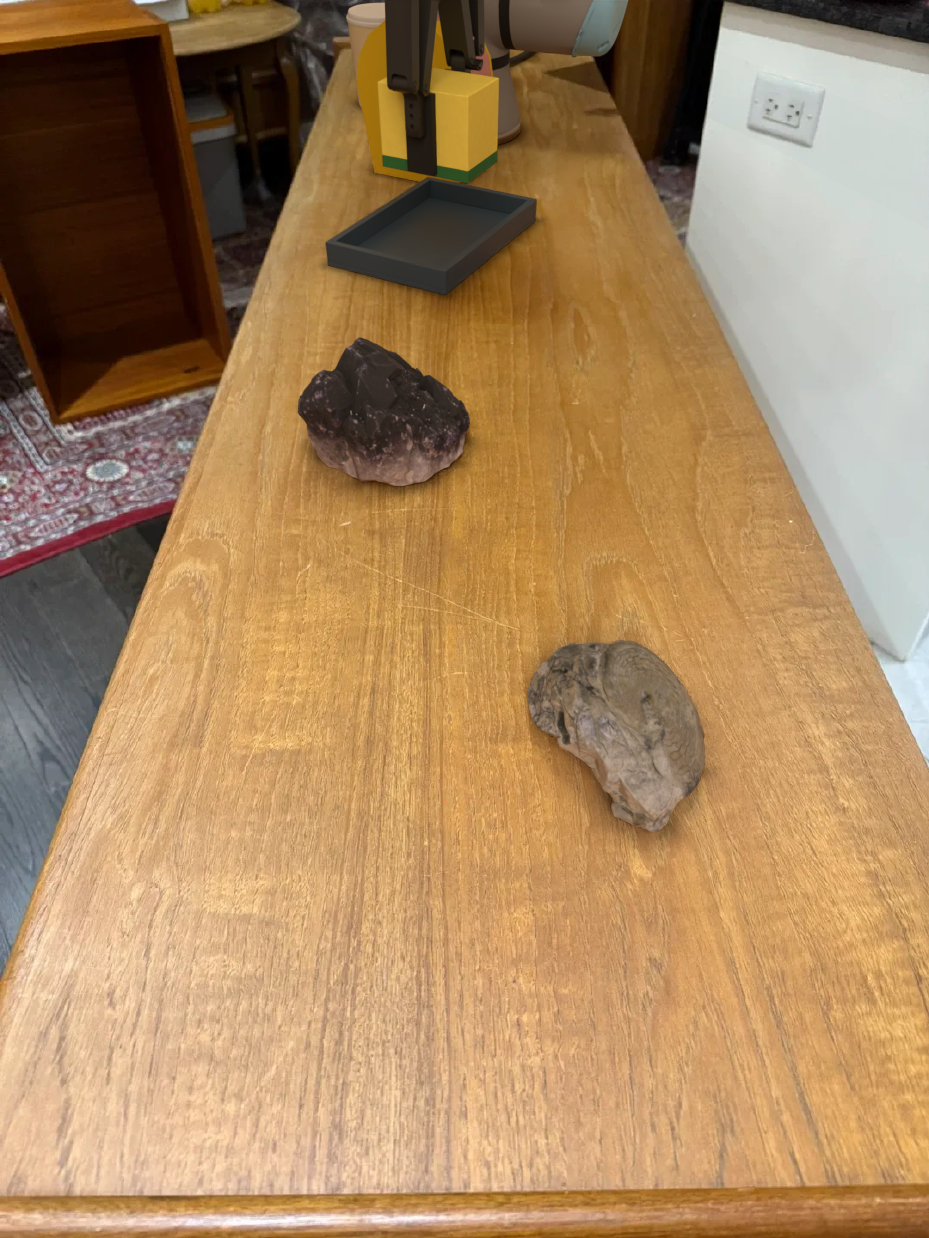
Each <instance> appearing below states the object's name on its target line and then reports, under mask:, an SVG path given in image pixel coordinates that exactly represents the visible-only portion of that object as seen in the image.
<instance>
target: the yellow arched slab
mask: <svg viewBox="0 0 929 1238" xmlns="http://www.w3.org/2000/svg"><path fill="white" fill-rule="evenodd" d="M473 40H474V37H473ZM476 59H483V67H482V69H481V71H476V70H471V73H472V74H477V75H483V76H490V77H493V71H492V63H491V56H490V53H489V51H488V49H487V47H486V45H485V50H484V54H483V56H482V57H479V56H477V57H476ZM432 68H438V69H451V67H449V66H447V63H446V57H445V50H444V44H443V38H442V31H441V25H440V18H439V12H438V14H437V23H436V33H435V43H434V53H433V63H432ZM386 77H387V66H386V30H385V21H384V22H383V23H381V24H380V25H379V26H378V27H376V28H375V29H374V30H373V31H372V32H370V33H369V34H368V36H367V39H366V41H365V43H364V45H363V48H362V50H361V52H360V54H359V57H358V70H357V87H358V92H359V97H360V102H361V106H360V108H361V112H362V116H363V121H364V122H363V123H364V127H365V132H366V136H367V137H366V138H367V142H368V147H369V152H370V156H371V162H372V166H373V172H374V174H379V175H384V176H388V177H389V176H390V177H394V178H399V179H404V180H408V181H413V182H418V183H419V182H420V181H422V180H423V179H425V178H426V177H431V178H436V179H441V180H446V181H451V182H456V183H461V182H458V181H453V180H448V179H443V178H438V177H433V176H428V175H423V174H418V173H413V172H408V171H403V170H398V169H393V168H388V167H383V162H382V144H381V129H380V114H379V98H378V82H379V81H380V80H382V79H384V78H386Z"/></svg>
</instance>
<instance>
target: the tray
mask: <svg viewBox="0 0 929 1238" xmlns="http://www.w3.org/2000/svg"><path fill="white" fill-rule="evenodd" d="M537 202H538V199H537V198H533V197H528V196H523V195H519V194H515V193H509V192H506V191H505V192H504V191H500V190H495V189H490V188H484V187H480V186H475V185H470V184H467V183H462V182H460V183H456V182H451V181H446V180H441V179H436V178H431V177H426V178H425V179H423V180H422V181H420V182H419V181H418V182H417V183H415V184H414V185H413V186H411V187H409V188H407V189H406V190H405V191H403V192H401V193H400V194H398V195H397V196H395V197H394V198H392V199H390V200H389V201H388V202H386V203H384V204H382V205H381V206H379V207H378V208H377V209H375V210H374V211H372V212H370V213H368V214H366V216H364V217H362V218H361V219H358V221H356V222H354V223H353V224H352V225H350V226H348V227H347V228H345V229H343V230H342V231H340V232H339V233H337V234H336V235H334V236H332V237H331V238H330V239H328V240H326V241H325V251H326V261H327V266H329V267H333V268H337V269H341V270H345V271H348V272H353V273H357V274H361V275H365V276H368V277H372V278H376V279H381V280H384V281H389V282H391V283H396V284H401V285H404V286H408V287H411V288H416V289H420V290H423V291H428V292H431V293H435V294H439V295H443V296H444V295H445V296H446V295H448V294H449V293H450V292H451V291H453V290H454V289H455V288H456V287H457V286H458V285H460V284H461V283H462V282H464V281H465V280H466V279H467V278H469V276H471V275H472V274H473V273H475V272H476V271H477V270H478V269H479V268H480V267H482V266H483V265H484V264H485V263H486V262H488V261H489V260H490V259H491V258H493V257H494V256H496V254H497V253H499V252H500V251H501V250H503V249H504V248H505V247H506V246H507V245H508V244H510V243H511V242H512V241H514V240H515V239H516V238H517V237H518V236H519V235H520V234H522V233H523V232H525V230H527V229H528V228H530V226H532V224H534V223H536V220H537V205H538V203H537Z"/></svg>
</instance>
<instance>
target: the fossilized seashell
mask: <svg viewBox="0 0 929 1238" xmlns="http://www.w3.org/2000/svg"><path fill="white" fill-rule="evenodd" d="M526 694H527V704H528V709H529V715H530V718H531V721H532V723H534V725H535V726H536V727H537V728H538V729H539V730H540V731H542V732H543V733H545V734H547V735H549V736H551V737H553V738H556V744H557V745H558V747H559V748H560V749H562V750H564V751H566V752H568V753H571V754H572V755H573V756H575V757H576V758H578V759H579V760H581V761H582V762H584V763H585V764H586V766H587V767H589V768H590V769H591V773H592V774H593V775H594V777H595V780H596V781H597V782H598V783H599V784H600V786H601V790H603V792H604V793H606V794H609V795H610V797H611V799H612V802H611V805H610V807H611V808H610V809H611V813H612V815H613V817H615V818H617V819H621V820H622V821H623V822H625V823H628V824H630V825H631V826H633V827H634V828H641V829H643V830H645V831H648V832H650V833H656V832H660V831H662V829H663V828H664V827H665V826H666V825H667V824H668V823H669V821H670V819H671V816H672V814H673V812H674V810H675V809H676V807H677V805H678V803H679V802H680V801H682V800H683V799H685V798H687V797H689V796H690V795H691V794H693V792H694V790H695V789H696V788H697V787H698V785H699V783H700V781H701V777H702V775H703V771H704V767H705V763H706V762H705V761H706V746H705V743H704V742H705V733H704V729H703V726H702V724H701V719H700V714H699V712H698V709H697V706H696V705H695V704H694V702H693V700H692V697H691V696H690V694H689V692H688V691H687V689H686V688H685V686H684V684H683V683H682V682H681V680H680V679H679V677H678V676H677V674H676V673H675V672H674V671H673V670H672V669H671V668H670V667H669V665H668V664H667V663H666V662H665V661H664V660H662V658H660V657H659V656H658V655H657V654H655V653H654V652H653V650H651V649H649V648H648V647H647V646H644V645H643V644H641V643H638V642H636V641H632V640H624V639H618V640H615V641H612V642H609V643H605V642H596V641H593V642H591V641H590V642H584V643H575V642H570V643H568V644H566V645H563V646H559V647H557V648H556V649H555V650H554V651H553V652H552V653H551V655H550V656H549V657H548V659H547V660H544V661H543V662H541V663H540V664H539V666H538V669H537V670H536V671H535V672H534V673H533V675H532V676H531V679H530V682H529V685H528V686H527V687H526ZM673 815H674V814H673Z"/></svg>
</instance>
